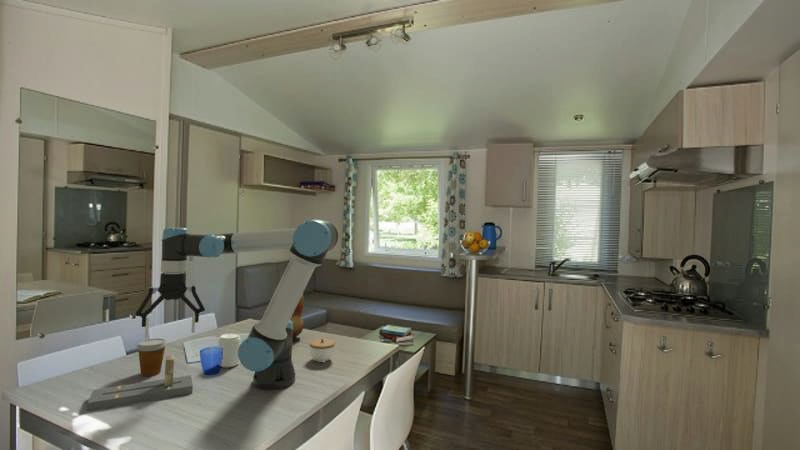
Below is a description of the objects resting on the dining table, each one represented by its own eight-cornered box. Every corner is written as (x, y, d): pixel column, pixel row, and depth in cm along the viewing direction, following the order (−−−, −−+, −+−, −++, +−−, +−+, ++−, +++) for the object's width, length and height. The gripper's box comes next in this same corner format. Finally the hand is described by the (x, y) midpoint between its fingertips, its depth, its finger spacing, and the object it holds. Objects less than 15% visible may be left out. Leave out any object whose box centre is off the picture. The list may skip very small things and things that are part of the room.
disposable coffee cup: (150, 379, 138) (152, 347, 138) (129, 376, 140) (130, 344, 140) (171, 370, 147) (172, 339, 147) (150, 367, 149) (152, 336, 149)
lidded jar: (315, 366, 158) (316, 344, 158) (304, 358, 166) (305, 337, 166) (338, 361, 165) (339, 340, 164) (326, 354, 173) (327, 333, 173)
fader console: (190, 381, 138) (191, 374, 138) (192, 393, 129) (192, 385, 129) (92, 397, 123) (93, 389, 123) (87, 411, 114) (87, 402, 114)
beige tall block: (172, 380, 132) (173, 354, 132) (172, 385, 128) (174, 359, 128) (164, 381, 131) (165, 356, 131) (164, 386, 127) (165, 360, 127)
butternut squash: (288, 344, 184) (290, 293, 184) (269, 339, 191) (271, 289, 191) (308, 337, 196) (310, 289, 196) (290, 333, 202) (292, 286, 202)
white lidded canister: (213, 366, 153) (214, 336, 153) (229, 359, 161) (230, 331, 161) (228, 369, 150) (229, 339, 150) (243, 363, 158) (244, 334, 158)
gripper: (212, 270, 139) (209, 327, 139) (130, 271, 126) (126, 334, 126) (214, 273, 133) (211, 332, 133) (128, 274, 120) (124, 341, 120)
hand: (170, 334), depth 130 cm, fingers open, 13 cm apart
